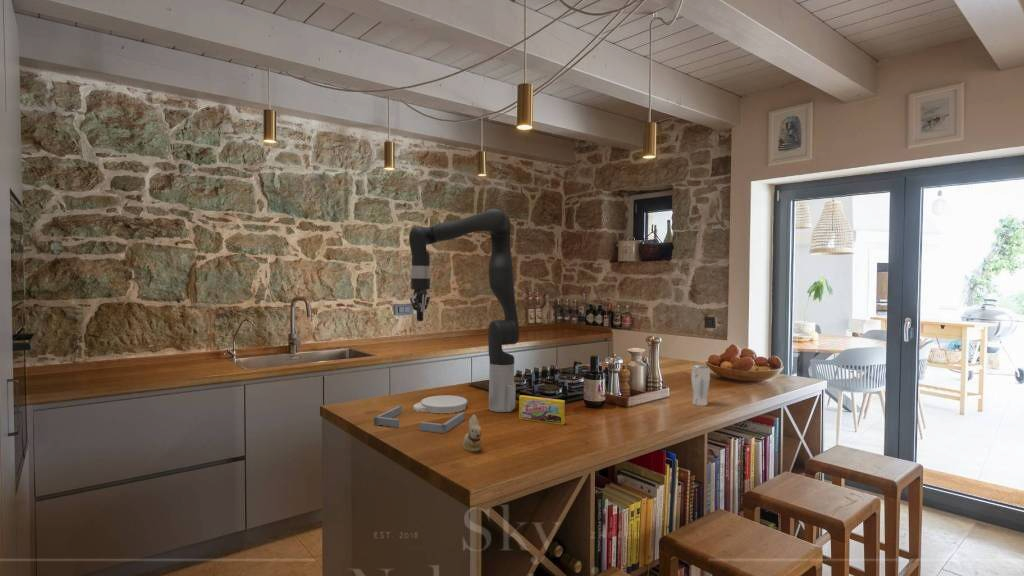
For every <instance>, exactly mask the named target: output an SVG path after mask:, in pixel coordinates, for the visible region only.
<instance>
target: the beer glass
mask: <svg viewBox="0 0 1024 576" xmlns="http://www.w3.org/2000/svg"><path fill="white" fill-rule="evenodd" d="M710 373H711V371H710V366H707V365H699V364H696V365H691V373H690V375H691V376H690V381H691V389H692V400H691V405H693V404H694V405H693V406H696V405H699V406H698V407H707V406H708V405H709V403H708V392H709V387H710V381H711V374H710ZM706 405H707V406H706Z"/></svg>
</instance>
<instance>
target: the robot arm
mask: <svg viewBox="0 0 1024 576" xmlns="http://www.w3.org/2000/svg"><path fill="white" fill-rule="evenodd" d="M476 232H489V235H490V242H491V253H490V259H489V263H488V282H489V287H490V290H491V291H492V293H493V295H494V296H495V298H496V299H497V300H498V302H499V303H500V305H501V307H502V311H503V313H504V315H503V316H504V319H497V320H491V321H490V323H489V324H488V329H487V339H488V340H487V341H488V342H487V343H488V358H489V380H488V381H489V383H488V409H489V411H491V412H497V413H505V412H506V413H511V412H512V411H514V410H515V409H516V391H517V389H516V388H517V387H516V383H515V356H514V355H513V354H511V353H508V352H505V351H504V350H503V346H509V345H515V344H517V343H518V342H519V339H520V325H519V317H518V312H517V305H516V298H515V297H516V296H515V283H514V282H515V281H514V278H515V277H514V269H513V259H512V252H511V219H510V217H509V216H508V215H507V213H505V212H504V211H503V210H501V209H500V208H490V209H488V210H485V211H482V212H479V213H477V214H473V215H470V216H467V217H464V218H463V217H462V218H460V219H456V220H449V221H444V222H440V223H436V224H435V225H432V226H428V227H427V226H426V227H423V226H414V227H412V228H411V230H410V232H409V235H408V242H409V248H410V252H411V269H410V270H411V271H410V289H411V290H413V294H412V295H413V296H412V297H410V298H409V301H410V304H411V306H412V308H413V310H414V311H415V312H416V321H417V322H423V321H424V312H425V311H426V310H427V308H428V306H429V303H430V300H431V297H430V296H428V290H430V288H431V268H430V264H431V263H430V262H431V261H430V259H431V256H430V252H428V251H427V246H428V245H431V244H435V243H438V242H444V241H450V240H455V239H458V238H461V237H464V236H465V235H468V234H471V233H476Z"/></svg>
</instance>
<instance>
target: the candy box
mask: <svg viewBox="0 0 1024 576" xmlns="http://www.w3.org/2000/svg"><path fill="white" fill-rule="evenodd" d="M518 403H519V404H518V405H519V406H518V419H519V420H523V419H524V421H525V420H526V421H530V420H531V421H530V422H539V423H546V424H555V425H564V424H565V423H566V421H565V414H566V413H565V410H566V401H565V400H564V399H556V398H550V397H549V398H548V397H539V396H532V395H524V394H522V395H521V394H520V395H519V396H518Z"/></svg>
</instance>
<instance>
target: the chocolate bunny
mask: <svg viewBox="0 0 1024 576" xmlns="http://www.w3.org/2000/svg"><path fill="white" fill-rule="evenodd" d="M468 429H469V432H467V433H466V434H465V435H464V437H463V442H462V447H463V449H464V450H465V451H467V452H471V453H478V452H480V451H481V444H482V440H481V436H482V427H481V426H480V424H479V420H478V417H477V415H475V414H472V415H471V417H469V420H468Z"/></svg>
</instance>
